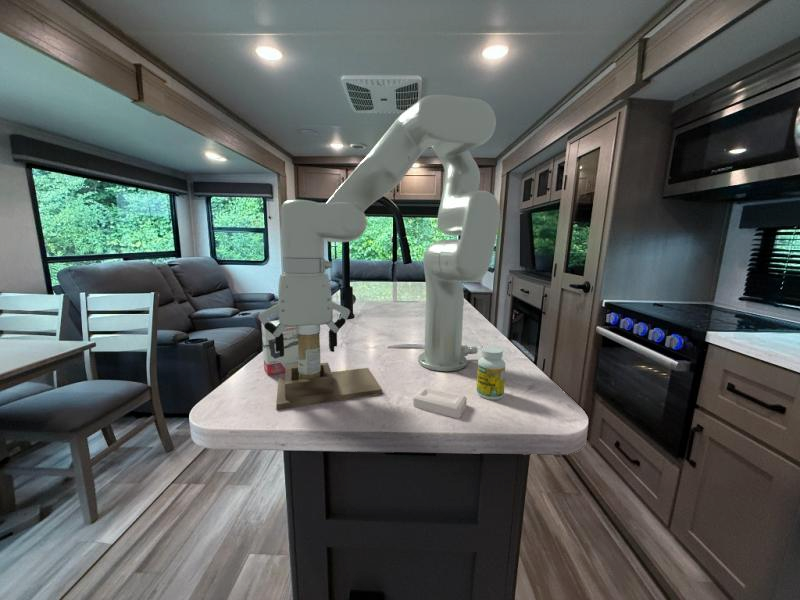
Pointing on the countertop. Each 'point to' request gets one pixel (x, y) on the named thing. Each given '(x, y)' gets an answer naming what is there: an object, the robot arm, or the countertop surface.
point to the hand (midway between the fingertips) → (307, 352)
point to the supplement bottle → (491, 374)
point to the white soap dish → (440, 402)
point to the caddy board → (324, 386)
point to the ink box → (272, 358)
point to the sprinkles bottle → (308, 351)
